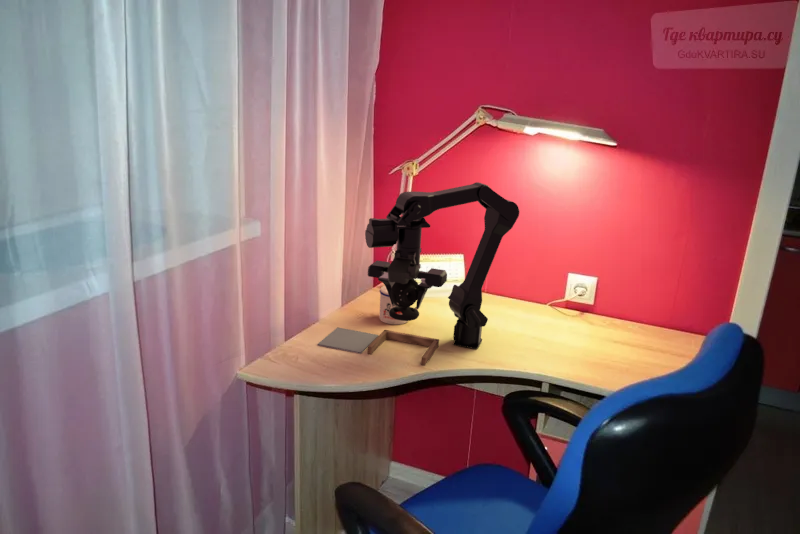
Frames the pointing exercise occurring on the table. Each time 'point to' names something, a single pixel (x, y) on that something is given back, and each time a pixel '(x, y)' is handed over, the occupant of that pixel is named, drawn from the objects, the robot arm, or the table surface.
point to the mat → (348, 340)
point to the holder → (408, 338)
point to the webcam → (404, 300)
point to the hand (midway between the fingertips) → (405, 306)
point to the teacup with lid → (387, 308)
